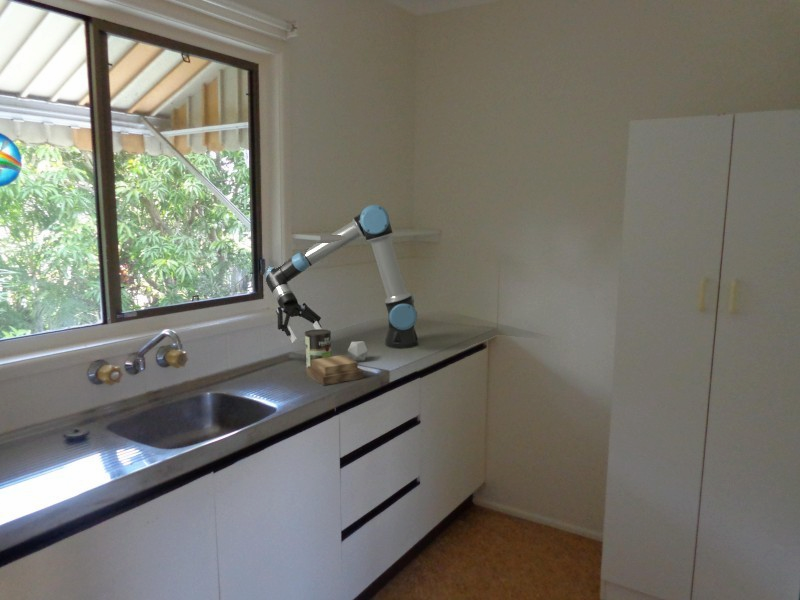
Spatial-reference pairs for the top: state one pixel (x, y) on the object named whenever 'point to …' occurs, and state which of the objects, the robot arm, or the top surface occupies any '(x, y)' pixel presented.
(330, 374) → the tower base
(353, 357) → the die
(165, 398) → the top surface
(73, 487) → the top surface
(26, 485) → the top surface
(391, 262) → the robot arm
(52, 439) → the top surface
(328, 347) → the coffee can
